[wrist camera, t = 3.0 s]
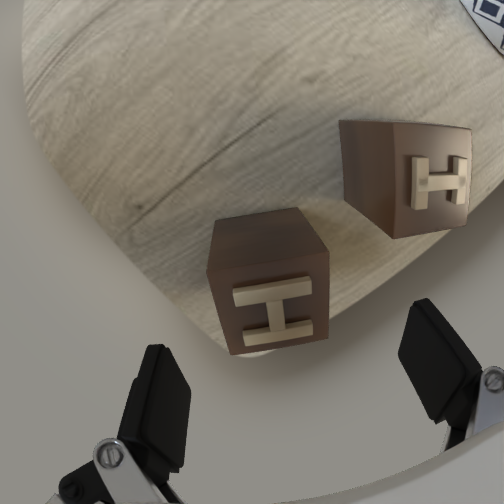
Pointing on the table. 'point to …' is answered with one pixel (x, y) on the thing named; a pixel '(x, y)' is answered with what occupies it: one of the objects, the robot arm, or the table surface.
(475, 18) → the planter
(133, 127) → the table surface
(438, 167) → the block
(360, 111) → the table surface
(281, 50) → the table surface
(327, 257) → the block
